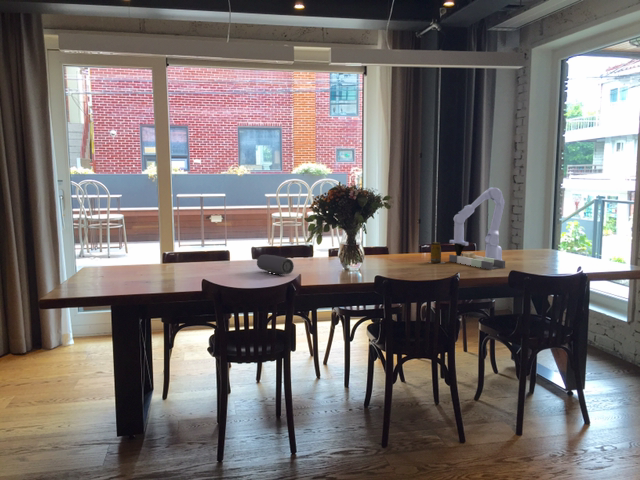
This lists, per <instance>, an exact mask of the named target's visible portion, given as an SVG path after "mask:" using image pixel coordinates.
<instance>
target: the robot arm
mask: <svg viewBox="0 0 640 480" xmlns="http://www.w3.org/2000/svg"><path fill="white" fill-rule="evenodd" d="M486 200H492V202H493V203H494V204H495V206H494V210H493V214H492V218H491V222H490V227H489V230H488V231H487V234H486V236H485V237H484V241H485V243H486V244H485V253H484V254H485V256H484V257H487V258H493V259H498V260H503V250H502V249H503V248H502V247H501V246H500V245H499V243H500V239H499V236H500V233H499V230H500V227H501V223H502V217H503V212H504V208H505V204H506V203H505V198H504V195H503V191H502V190H501V189H500V188H498V187H489V188H487V189H486V190H485V191H483V192H482V193H481V194H480V195H479V196H477V198H476V199H475V200H474V201H473V202H472V203H471V204H467V205H465V206H463V208H462V209H461V210H460V211H458V212H457V213H456V214H455V215H454V217H453V218H452V219H453V221H454V222H453V223H454V224H453V225H454V226H453V239H449V244H453V245H452V246H453V249H454V252H455V255H457V256H461V253H463V250H464V248H465V247H467V246H469V241H465V239H464V237H465V224H464V223H465V221H466V220H467V219H468V218H470V216H471V215H472V214H474V213H475V209H476V208H477V207H479V206H480V204H482V203H483V202H484V201H486Z"/></svg>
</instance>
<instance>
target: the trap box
mask: <svg viewBox="0 0 640 480" xmlns="http://www.w3.org/2000/svg"><path fill="white" fill-rule="evenodd" d="M463 253H464V252H462V253H461V256H457V255H456V254H449V256H448V257H449V259H448V261H449V262H451V263H455V262H456V263H457V264H460V263H461V264H462V265H465V264H466V266H470V265H471V267H475V266H476V267H477V268H480V267H481V269H485V268H486V270H491V271H492V270H494V269H493V266H498V267H503V268H502V269H505V268H506V260H504V259H502V260H498V259H493V258H487V257H485V256H482V255H476V254H475V259H473V258H467V257H463ZM476 267H475V268H476Z"/></svg>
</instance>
